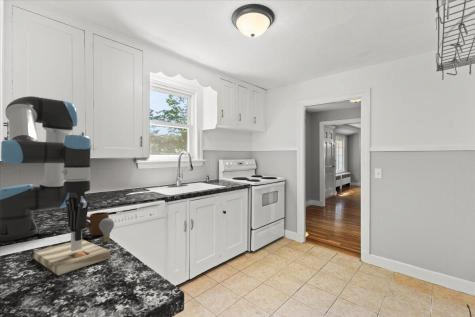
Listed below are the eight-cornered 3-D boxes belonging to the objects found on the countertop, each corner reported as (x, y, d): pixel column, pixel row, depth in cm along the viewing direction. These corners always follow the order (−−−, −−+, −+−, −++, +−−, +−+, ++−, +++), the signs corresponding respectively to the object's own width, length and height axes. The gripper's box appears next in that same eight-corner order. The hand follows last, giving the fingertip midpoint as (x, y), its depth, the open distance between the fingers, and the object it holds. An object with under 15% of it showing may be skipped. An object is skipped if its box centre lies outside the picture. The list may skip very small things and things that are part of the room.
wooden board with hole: (33, 258, 79) (33, 251, 79) (82, 245, 91) (82, 239, 91) (58, 275, 67) (58, 266, 67) (110, 257, 79) (110, 250, 79)
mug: (79, 239, 99) (79, 217, 99) (77, 235, 105) (77, 215, 105) (110, 233, 107) (110, 213, 107) (106, 230, 113) (106, 211, 113)
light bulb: (117, 240, 97) (117, 217, 97) (105, 245, 92) (106, 220, 92) (107, 239, 99) (107, 216, 99) (95, 243, 94) (96, 219, 94)
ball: (74, 252, 74) (77, 261, 73) (86, 248, 77) (88, 258, 75) (71, 256, 75) (73, 266, 74) (82, 253, 78) (85, 262, 77)
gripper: (56, 180, 78) (55, 249, 78) (72, 181, 71) (71, 257, 71) (81, 179, 85) (80, 242, 84) (98, 180, 77) (97, 250, 77)
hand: (76, 249), depth 77 cm, fingers closed
